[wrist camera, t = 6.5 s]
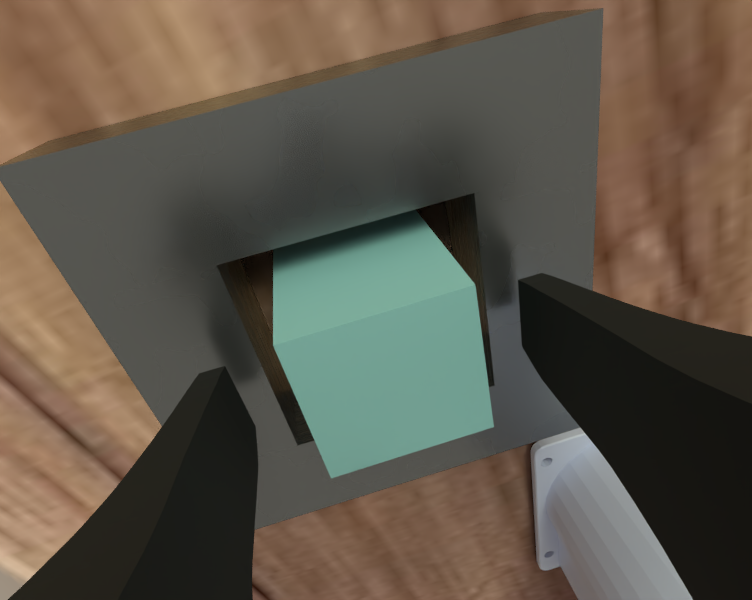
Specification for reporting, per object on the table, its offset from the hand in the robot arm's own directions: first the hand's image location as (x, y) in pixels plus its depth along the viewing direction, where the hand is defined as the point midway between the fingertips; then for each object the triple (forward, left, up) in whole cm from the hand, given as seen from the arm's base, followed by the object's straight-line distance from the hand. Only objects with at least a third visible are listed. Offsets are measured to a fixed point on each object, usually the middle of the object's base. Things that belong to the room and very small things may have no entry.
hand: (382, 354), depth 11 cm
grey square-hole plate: (0, 0, -3) cm, 3 cm away
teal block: (0, 0, -3) cm, 4 cm away
